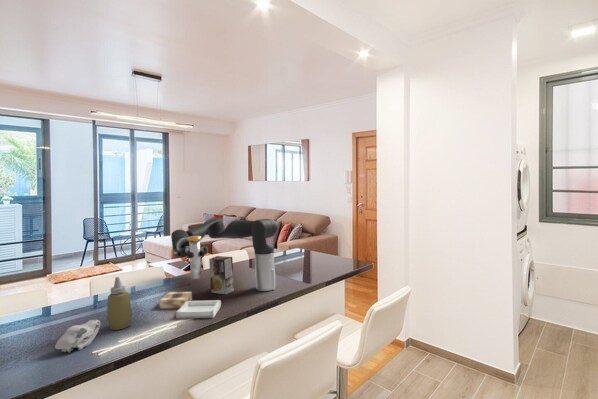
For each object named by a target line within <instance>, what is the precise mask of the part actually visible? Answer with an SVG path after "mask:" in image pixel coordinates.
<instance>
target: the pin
mask: <svg viewBox="0 0 598 399" xmlns="http://www.w3.org/2000/svg"><path fill="white" fill-rule="evenodd" d="M187 239H188V241H189V246H190V252H191V253H192V258H189V262H190V265H189V266H190V279H192V280H196V279H201V278H202V259H201V258H202V256H201V254H200V246H201V241H202V239H201V236H190V237H187Z"/></svg>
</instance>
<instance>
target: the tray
mask: <svg viewBox="0 0 598 399" xmlns="http://www.w3.org/2000/svg"><path fill="white" fill-rule="evenodd" d="M221 307H222V300H221V299H216V300H215V299H214V300H191V301H187V302H186V303H185V304H184V305H183V306H182V307H181V308H178V309H177V311H175V316H176V318H175V319H176V320H179V319H181V320H185V319H212V318H213V319H214V317H215V316H216V315H217V313H218V312H219V310H220V308H221Z"/></svg>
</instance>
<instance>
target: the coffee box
mask: <svg viewBox="0 0 598 399" xmlns="http://www.w3.org/2000/svg"><path fill="white" fill-rule="evenodd" d="M208 262H209V263H208V264H209V275H210V276H209V279H210V293H214V294H219V295H220V294H222V295H228V294H230V293H232V292H234V291H235V290H234V289H235V286H234V266H233V256H223V255H222V256H221V255H216V256H214V257H210V258H209V259H208Z"/></svg>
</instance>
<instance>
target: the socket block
mask: <svg viewBox="0 0 598 399" xmlns="http://www.w3.org/2000/svg"><path fill="white" fill-rule="evenodd" d="M187 301H193V292H192V291H169V292H168V293H166V294H165V295H164V296H162V298H160V299H159V302H158V303H159V309H180V308H181V307H182V306H183V305H184V304H185V303H186V302H187Z"/></svg>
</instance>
